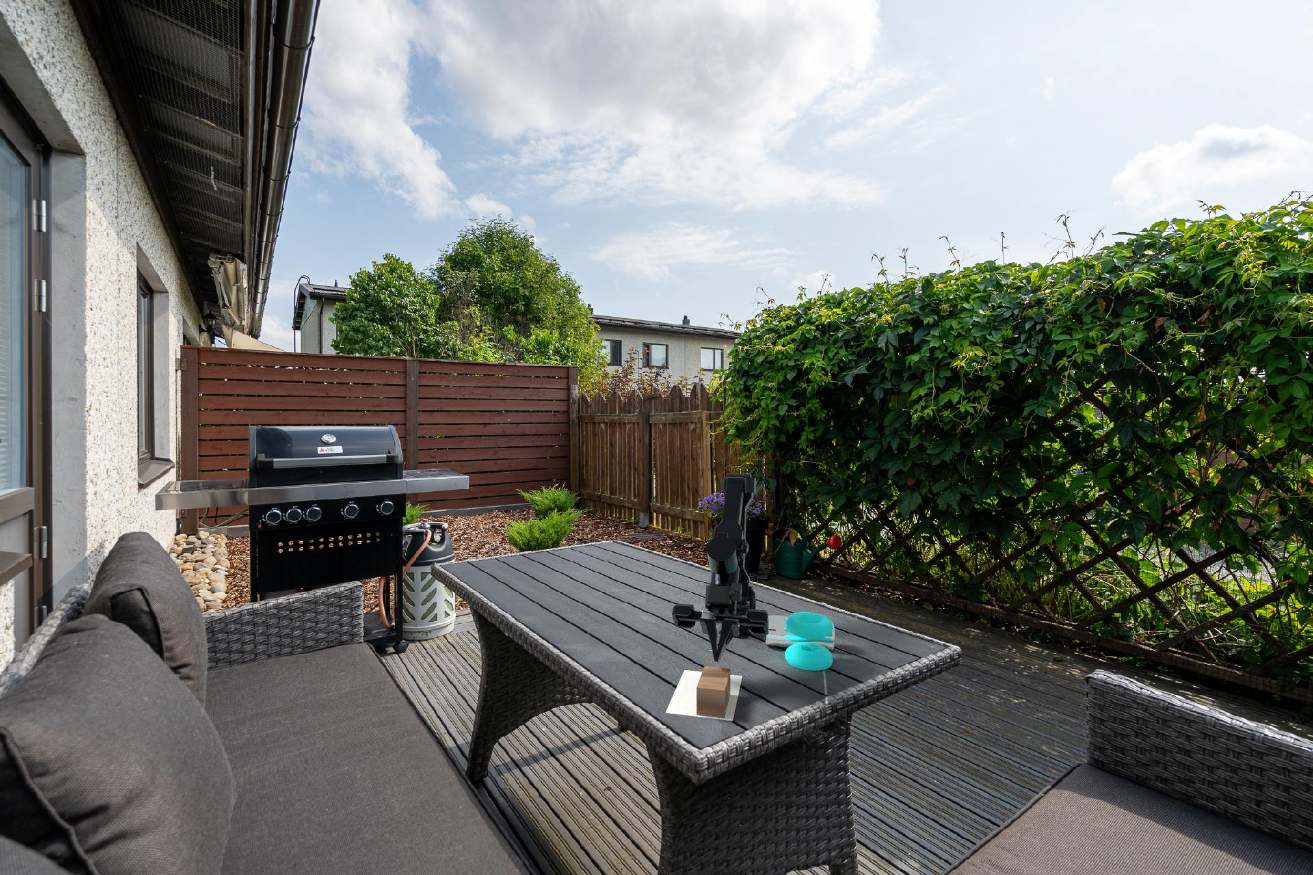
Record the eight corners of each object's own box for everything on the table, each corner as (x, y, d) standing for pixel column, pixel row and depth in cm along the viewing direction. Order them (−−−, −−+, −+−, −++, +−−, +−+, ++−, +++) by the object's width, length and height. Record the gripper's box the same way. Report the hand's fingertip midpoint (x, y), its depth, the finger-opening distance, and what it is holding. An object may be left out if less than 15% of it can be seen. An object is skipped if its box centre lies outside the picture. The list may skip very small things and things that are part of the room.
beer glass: (830, 649, 141) (765, 642, 143) (831, 618, 142) (766, 612, 144) (834, 654, 134) (765, 647, 136) (835, 622, 135) (767, 616, 137)
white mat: (684, 672, 126) (684, 670, 126) (742, 678, 123) (742, 675, 123) (665, 715, 108) (665, 712, 108) (732, 723, 105) (732, 720, 105)
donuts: (792, 626, 124) (780, 610, 134) (792, 674, 125) (779, 654, 135) (840, 625, 125) (824, 609, 135) (839, 673, 125) (823, 653, 135)
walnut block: (704, 666, 116) (696, 687, 107) (730, 668, 115) (724, 690, 106) (704, 691, 116) (696, 714, 107) (730, 694, 115) (724, 718, 106)
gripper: (673, 563, 121) (661, 638, 111) (768, 569, 116) (764, 647, 106) (681, 590, 129) (670, 662, 119) (770, 597, 124) (766, 672, 114)
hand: (716, 661), depth 114 cm, fingers closed
